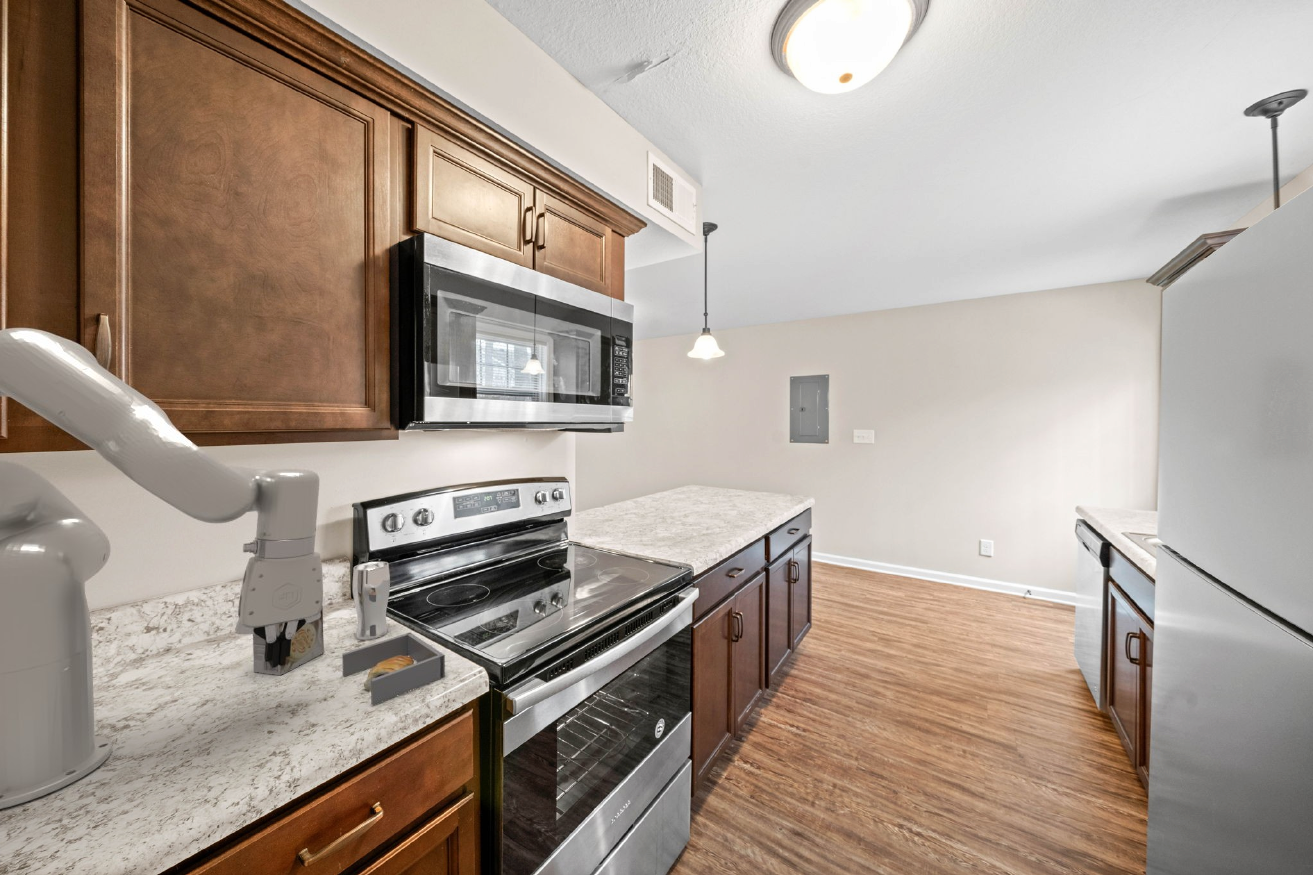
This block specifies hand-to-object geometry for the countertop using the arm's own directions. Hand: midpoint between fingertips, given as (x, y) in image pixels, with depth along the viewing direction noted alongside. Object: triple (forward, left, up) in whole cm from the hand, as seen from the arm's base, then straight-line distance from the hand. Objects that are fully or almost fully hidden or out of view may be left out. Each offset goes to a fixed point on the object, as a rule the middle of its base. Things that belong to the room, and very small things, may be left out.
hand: (276, 663), depth 76 cm
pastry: (+16, -3, -8) cm, 18 cm away
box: (+16, -3, -8) cm, 18 cm away
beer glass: (+20, +20, -8) cm, 29 cm away
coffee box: (+5, +18, -8) cm, 20 cm away
